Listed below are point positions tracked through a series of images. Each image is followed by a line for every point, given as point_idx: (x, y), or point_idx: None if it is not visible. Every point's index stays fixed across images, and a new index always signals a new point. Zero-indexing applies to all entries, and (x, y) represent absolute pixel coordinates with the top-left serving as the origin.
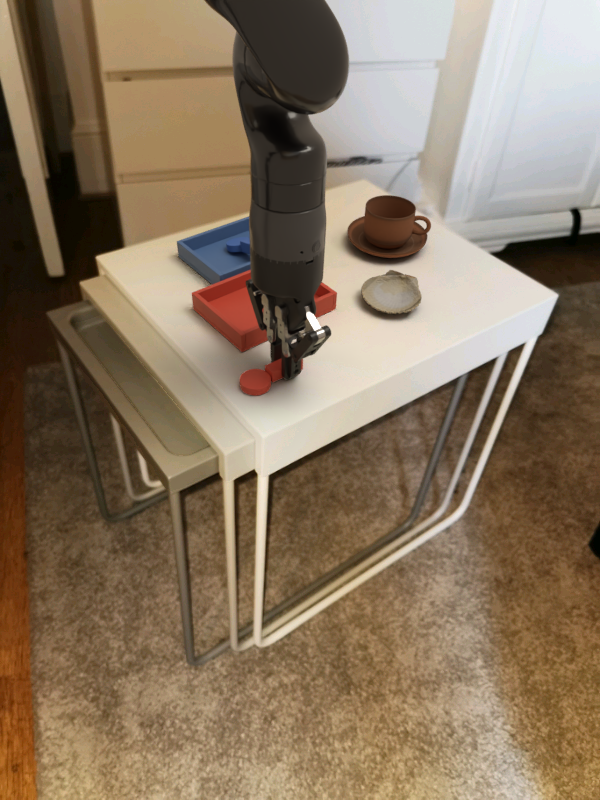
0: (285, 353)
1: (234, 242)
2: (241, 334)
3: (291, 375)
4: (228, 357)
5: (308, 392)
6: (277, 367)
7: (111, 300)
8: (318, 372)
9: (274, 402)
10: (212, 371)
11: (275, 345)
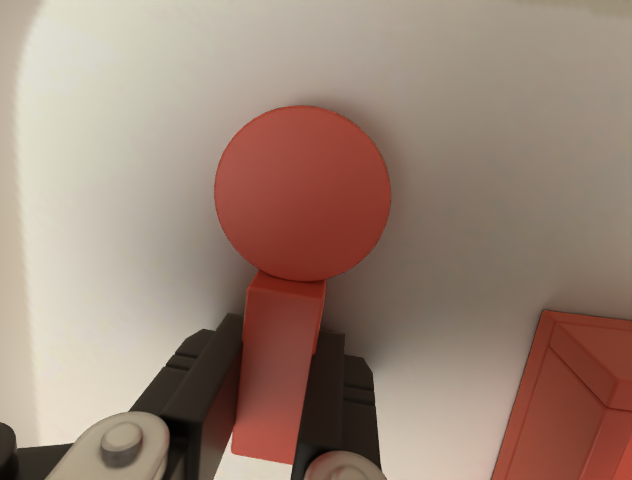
0: (103, 439)
1: None
2: (624, 389)
3: (185, 341)
4: (574, 236)
5: (125, 325)
6: (262, 334)
7: None
8: None
9: (156, 178)
10: (566, 90)
11: (297, 452)
